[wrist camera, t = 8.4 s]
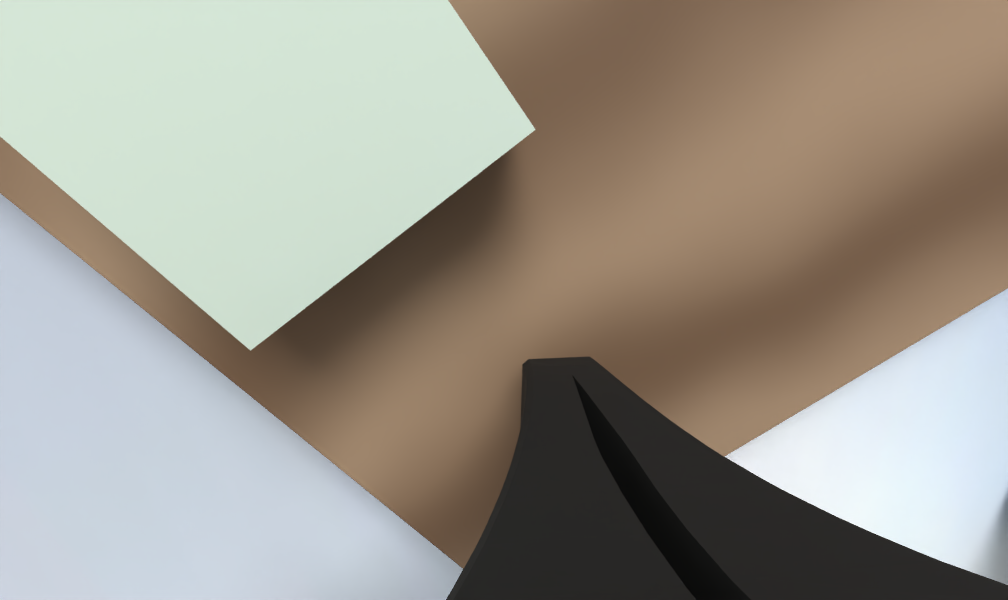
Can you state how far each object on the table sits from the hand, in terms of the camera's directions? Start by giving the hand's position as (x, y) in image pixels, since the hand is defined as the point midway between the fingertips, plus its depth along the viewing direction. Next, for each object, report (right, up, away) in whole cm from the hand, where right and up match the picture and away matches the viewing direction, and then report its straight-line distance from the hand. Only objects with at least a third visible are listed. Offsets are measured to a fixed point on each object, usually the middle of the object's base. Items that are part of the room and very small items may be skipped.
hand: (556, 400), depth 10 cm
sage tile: (-4, +6, -2) cm, 7 cm away
